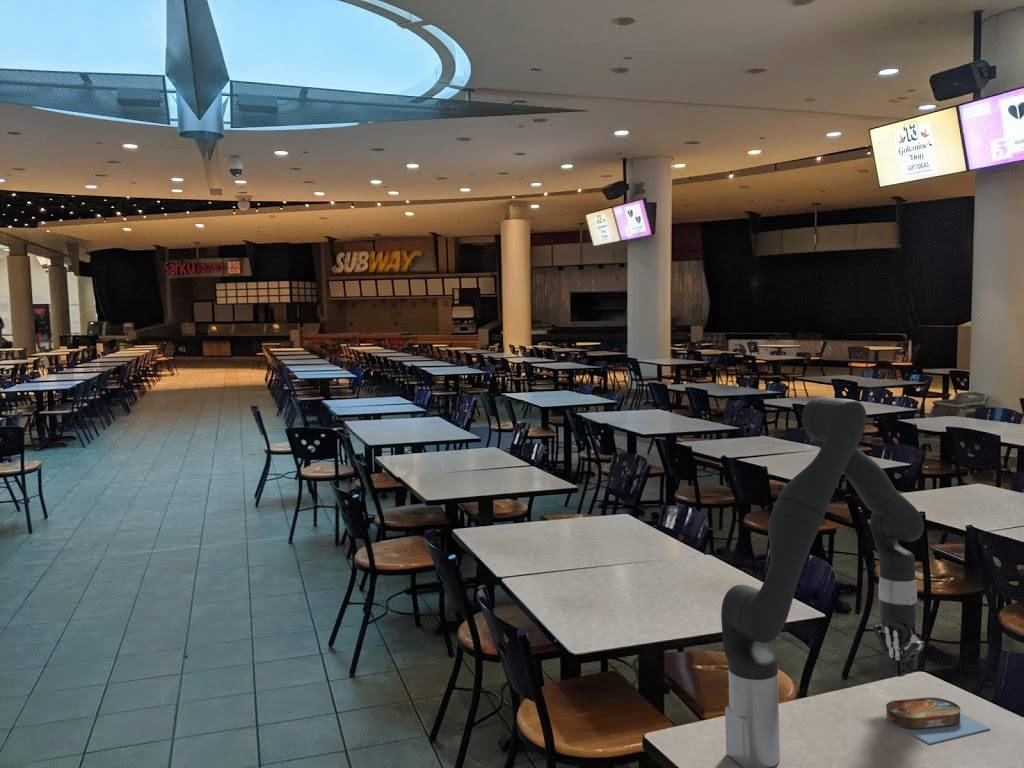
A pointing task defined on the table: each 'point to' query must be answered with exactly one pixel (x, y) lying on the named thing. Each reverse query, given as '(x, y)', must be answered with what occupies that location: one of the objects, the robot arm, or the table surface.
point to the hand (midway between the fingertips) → (898, 675)
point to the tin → (923, 713)
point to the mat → (947, 730)
